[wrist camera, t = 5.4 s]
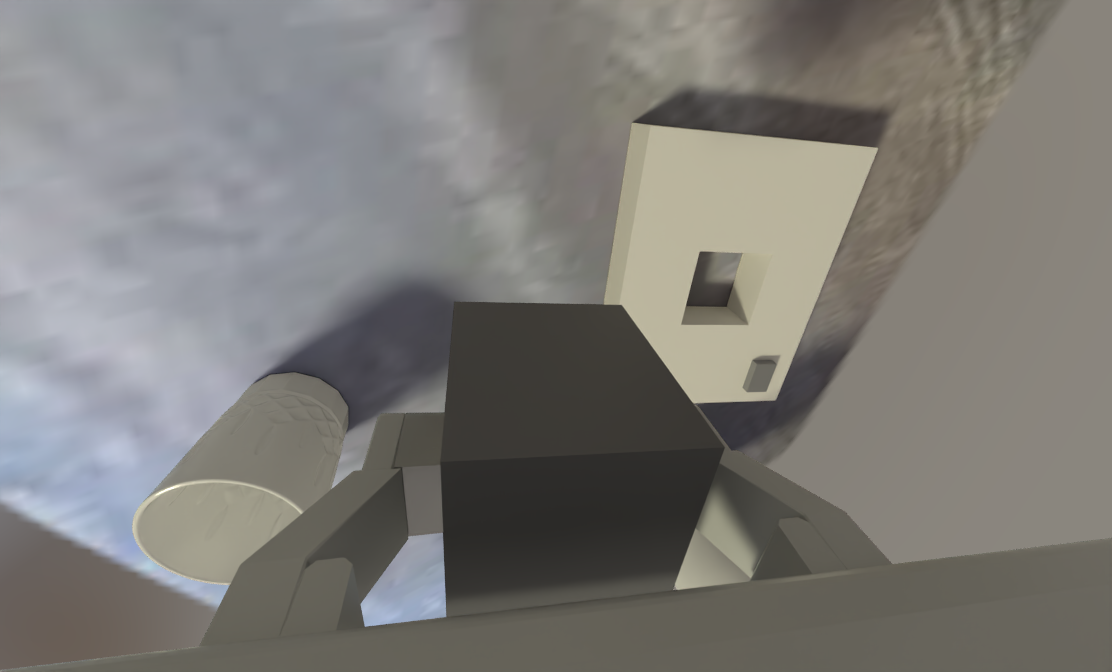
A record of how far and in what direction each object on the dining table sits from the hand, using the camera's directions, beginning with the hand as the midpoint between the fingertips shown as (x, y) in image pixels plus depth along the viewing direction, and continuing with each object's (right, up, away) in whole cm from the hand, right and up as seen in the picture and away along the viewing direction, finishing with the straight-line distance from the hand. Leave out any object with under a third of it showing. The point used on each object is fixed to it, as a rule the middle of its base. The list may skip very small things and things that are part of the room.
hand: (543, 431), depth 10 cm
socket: (+11, +7, +21) cm, 24 cm away
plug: (-1, +2, +3) cm, 4 cm away
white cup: (-18, -3, +21) cm, 27 cm away
